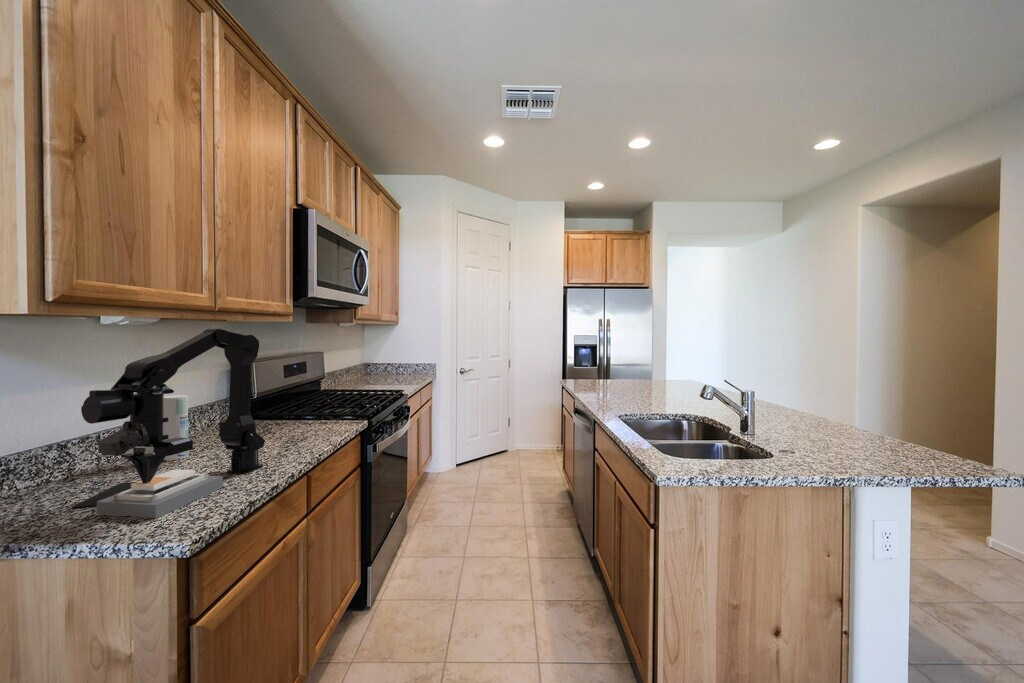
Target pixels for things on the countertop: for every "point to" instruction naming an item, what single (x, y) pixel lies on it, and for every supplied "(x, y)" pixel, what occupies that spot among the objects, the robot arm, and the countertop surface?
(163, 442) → the robot arm
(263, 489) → the countertop surface
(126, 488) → the smartphone
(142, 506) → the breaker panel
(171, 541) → the countertop surface
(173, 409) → the spray can
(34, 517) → the countertop surface
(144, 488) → the rocker switch
